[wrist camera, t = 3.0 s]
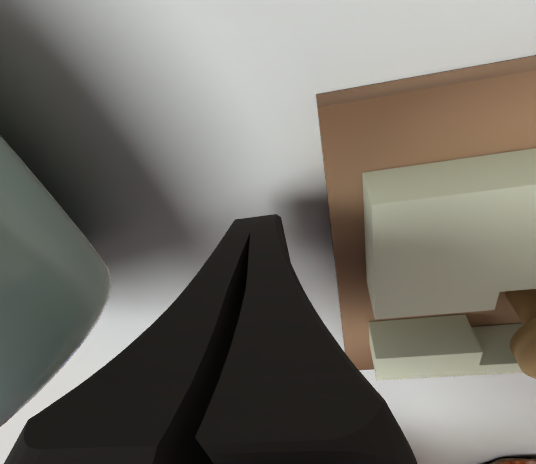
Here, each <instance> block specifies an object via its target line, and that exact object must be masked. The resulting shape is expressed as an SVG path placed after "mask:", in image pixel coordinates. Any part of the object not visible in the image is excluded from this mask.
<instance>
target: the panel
mask: <svg viewBox="0 0 536 464" xmlns="http://www.w3.org/2000/svg"><path fill="white" fill-rule="evenodd" d="M362 180H363V203H364V227H365V250H366V274H367V285H368V290H369V295H370V299H371V304H372V308H373V313H374V317H375V319H387V318H400V317H412V316H425V315H437V314H450V313H463V312H475V311H488V310H495V306H496V303H497V299H498V296H499V292H504V291H516V290H527V289H536V148H533V149H526V150H519V151H512V152H505V153H498V154H491V155H484V156H476V157H469V158H462V159H455V160H448V161H441V162H434V163H427V164H420V165H413V166H406V167H399V168H392V169H385V170H378V171H371V172H363V173H362ZM522 326H523V323H521V324H507V325H494V326H480V327H471V326H470V324H469V321H468V319H467V317H466V315H465V314H464V315H452V316H439V317H426V318H414V319H401V320H388V321H376V322H369V344H370V349H371V354H372V359H373V365H374V370H375V375H376V380H391V379H409V378H428V377H446V376H464V375H483V374H501V373H519V372H523V371H522V370H521V369H520V367H519V365H518V363H517V361H516V359H515V358H514V356H513V354H512V352H511V350H510V340H511V338H512V336H513V335H514V333H515V332H516V331H517V330H518V329H519V328H520V327H522Z"/></svg>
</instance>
